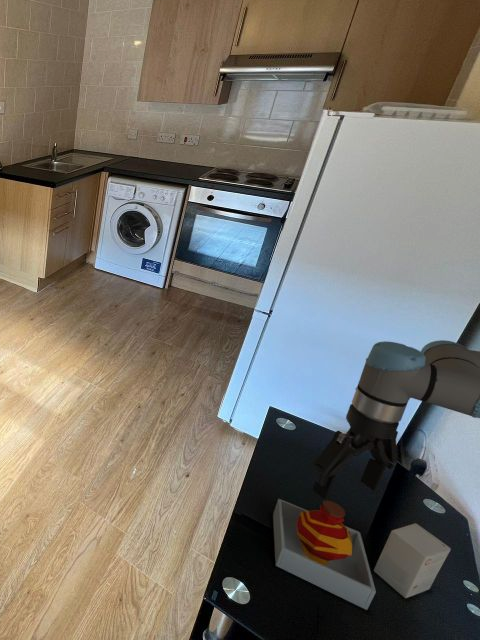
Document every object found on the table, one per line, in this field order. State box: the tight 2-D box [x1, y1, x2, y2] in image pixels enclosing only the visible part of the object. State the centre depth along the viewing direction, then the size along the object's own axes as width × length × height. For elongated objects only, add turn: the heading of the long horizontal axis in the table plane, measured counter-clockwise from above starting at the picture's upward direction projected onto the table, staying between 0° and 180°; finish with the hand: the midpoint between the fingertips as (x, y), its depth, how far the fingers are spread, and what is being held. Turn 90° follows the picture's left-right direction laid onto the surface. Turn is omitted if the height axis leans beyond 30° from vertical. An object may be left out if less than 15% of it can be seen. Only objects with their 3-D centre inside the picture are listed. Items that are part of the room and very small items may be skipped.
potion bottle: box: [296, 499, 352, 565], centre depth 96 cm, size 10×10×15 cm
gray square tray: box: [272, 498, 377, 611], centre depth 97 cm, size 16×16×6 cm
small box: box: [373, 522, 451, 599], centre depth 92 cm, size 8×6×13 cm
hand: (344, 490), depth 91 cm, fingers open, 13 cm apart
